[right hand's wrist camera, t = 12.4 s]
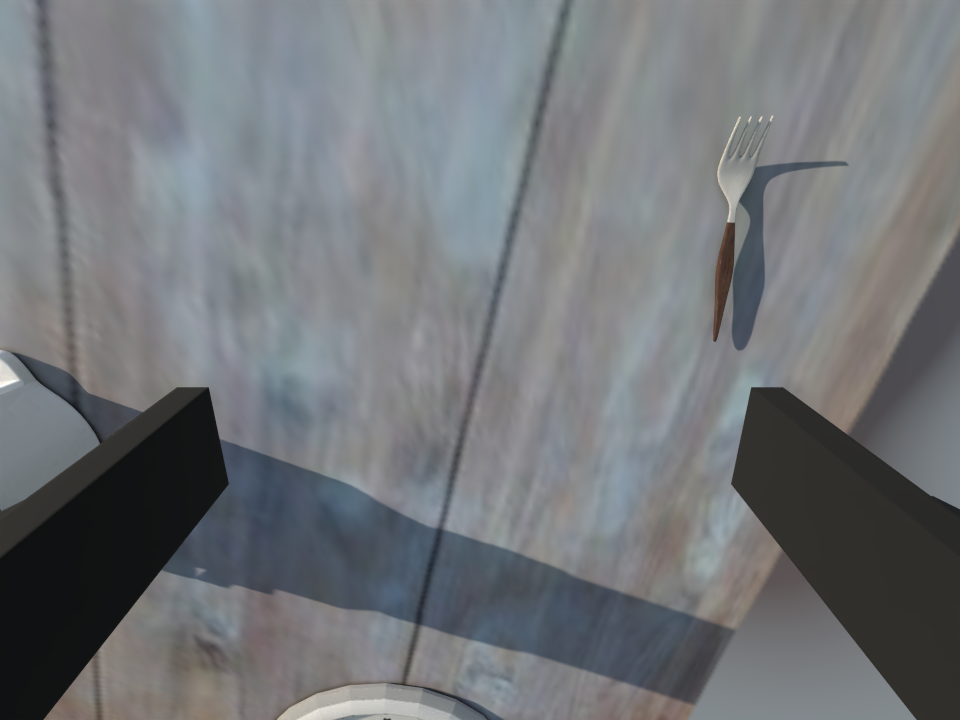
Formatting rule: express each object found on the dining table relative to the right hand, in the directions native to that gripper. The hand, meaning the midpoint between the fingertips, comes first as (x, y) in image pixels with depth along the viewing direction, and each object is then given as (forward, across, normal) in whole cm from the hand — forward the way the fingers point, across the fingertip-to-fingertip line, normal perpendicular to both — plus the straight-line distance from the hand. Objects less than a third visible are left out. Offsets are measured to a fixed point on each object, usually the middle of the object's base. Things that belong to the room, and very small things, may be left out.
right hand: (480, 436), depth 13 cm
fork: (+28, +18, +1) cm, 33 cm away
